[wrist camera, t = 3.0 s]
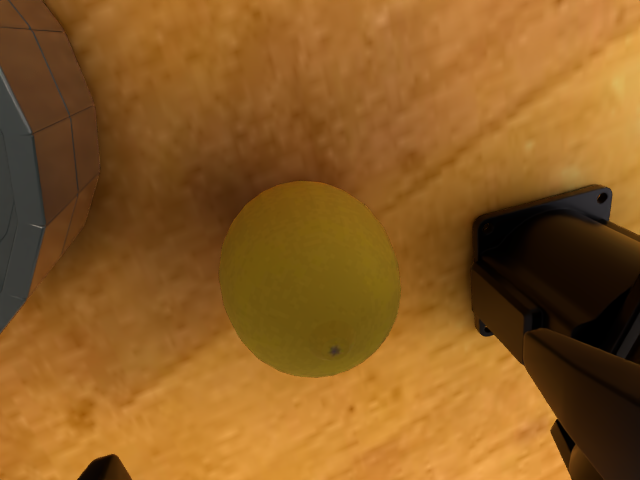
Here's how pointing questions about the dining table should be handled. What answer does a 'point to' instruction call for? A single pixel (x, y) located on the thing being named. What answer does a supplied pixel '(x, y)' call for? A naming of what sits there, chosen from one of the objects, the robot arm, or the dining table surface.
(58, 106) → the grey pet bowl
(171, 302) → the dining table surface
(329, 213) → the lemon
